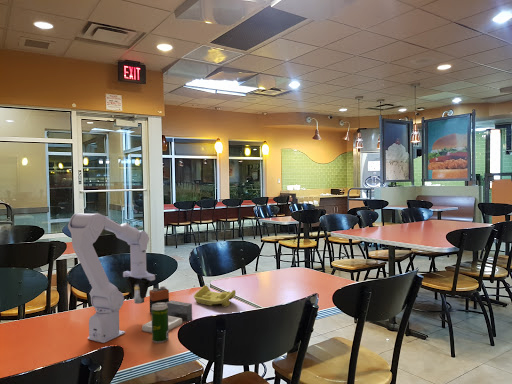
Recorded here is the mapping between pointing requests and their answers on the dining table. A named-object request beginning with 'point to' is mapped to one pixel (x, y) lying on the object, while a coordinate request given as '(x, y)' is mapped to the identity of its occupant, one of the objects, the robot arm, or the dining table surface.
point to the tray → (172, 324)
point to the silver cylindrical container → (137, 294)
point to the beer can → (160, 322)
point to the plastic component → (213, 297)
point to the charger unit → (180, 310)
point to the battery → (158, 296)
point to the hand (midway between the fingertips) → (139, 297)
